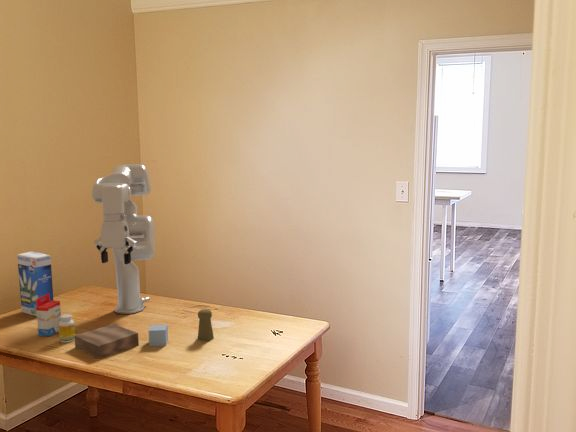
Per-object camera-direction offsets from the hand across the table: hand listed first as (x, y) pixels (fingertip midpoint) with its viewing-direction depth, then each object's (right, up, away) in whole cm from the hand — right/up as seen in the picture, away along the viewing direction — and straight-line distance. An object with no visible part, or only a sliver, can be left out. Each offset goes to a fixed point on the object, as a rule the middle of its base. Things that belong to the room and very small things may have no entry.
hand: (116, 263), depth 215 cm
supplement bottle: (-18, -29, -1) cm, 34 cm away
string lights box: (-43, -24, +32) cm, 59 cm away
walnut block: (-1, -30, -7) cm, 31 cm away
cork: (+34, -29, 0) cm, 44 cm away
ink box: (-28, -28, +8) cm, 40 cm away
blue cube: (+17, -29, -4) cm, 34 cm away
